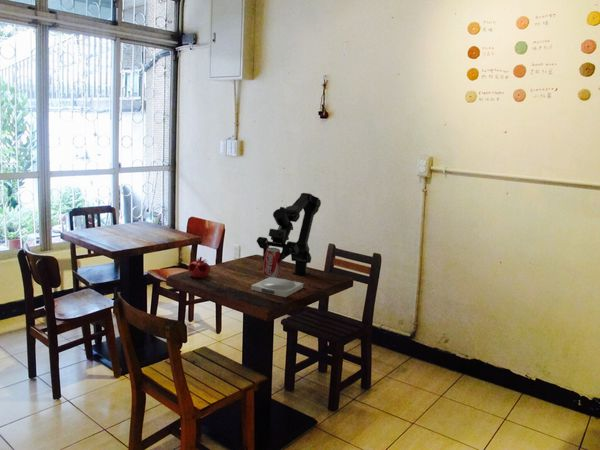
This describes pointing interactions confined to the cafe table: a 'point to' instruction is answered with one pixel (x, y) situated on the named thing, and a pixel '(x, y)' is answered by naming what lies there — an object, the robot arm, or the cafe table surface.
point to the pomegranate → (199, 268)
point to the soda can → (271, 262)
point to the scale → (277, 286)
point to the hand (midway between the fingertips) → (270, 261)
